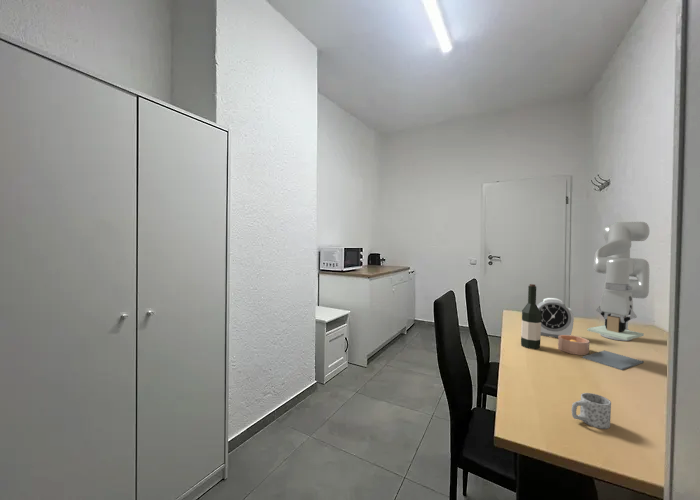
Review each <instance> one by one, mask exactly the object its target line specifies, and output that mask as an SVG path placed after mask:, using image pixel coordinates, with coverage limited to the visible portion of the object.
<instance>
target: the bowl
mask: <svg viewBox="0 0 700 500" xmlns="http://www.w3.org/2000/svg"><path fill="white" fill-rule="evenodd" d="M570 340H576V341H577V342H573V341H570ZM557 341H558V342H557V349H558V350H559V351H561V352H564V353H567V354H571V355H577V356H586V355H590V340H589V339H587V338H585V337H580V336H578V335H572V334H571V335H559V336H558V338H557Z"/></svg>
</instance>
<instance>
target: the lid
mask: <svg viewBox="0 0 700 500" xmlns="http://www.w3.org/2000/svg"><path fill="white" fill-rule="evenodd" d="M620 322H621V320H620V317H617V316H607V329H606V326H605V325H604V324H603V325H599V326H598V325H597V326H593V327H592V326H591V327H588V328H586V330H587V331H588V332H591V333H595V334H599V335H600V334H604V335H608V336H612V337H616V338H620V339H625V340H629V339H632V340H633V339H637V338H640V337H641V338H642V337H644V335H645V334H644V333H643V332H638V331H635V330H634V331H633V330H630V329H629V330H624V331H623V332H619V323H620Z"/></svg>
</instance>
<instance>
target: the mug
mask: <svg viewBox="0 0 700 500" xmlns="http://www.w3.org/2000/svg"><path fill="white" fill-rule="evenodd" d="M571 405H572V406H571V416H572V418H573V419H574V420H579V421H582V422H583V423H585V424H586V425H588V426H590V427H593V428H597V429H599V430H608V429H610V428H611V418H612V416H611V415H612V414H611V412H612V401H611V400H609V398H606V397H605V396H602V395H600V394H596V393H593V392H592V393H591V392H584V393H581V394H580V400H577V401H575V402H572V404H571ZM579 406H580V413H579V414H577V409H578V407H579Z"/></svg>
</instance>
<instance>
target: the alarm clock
mask: <svg viewBox="0 0 700 500" xmlns="http://www.w3.org/2000/svg"><path fill="white" fill-rule="evenodd" d="M542 300H543V301H540V302H539V303H538V304H536V305H537V307H538V309H539V310H540V312H541V337H542V336H543V337H549V338H557V339H558V336H559V335H572V333H573V329H574V321H575V319H574V313H573V311H572V309H571V308H570V307H567V306H566V305H565V304H564V302H563V300H562V299H559V298H557V297H546V298H543V299H542Z"/></svg>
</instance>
